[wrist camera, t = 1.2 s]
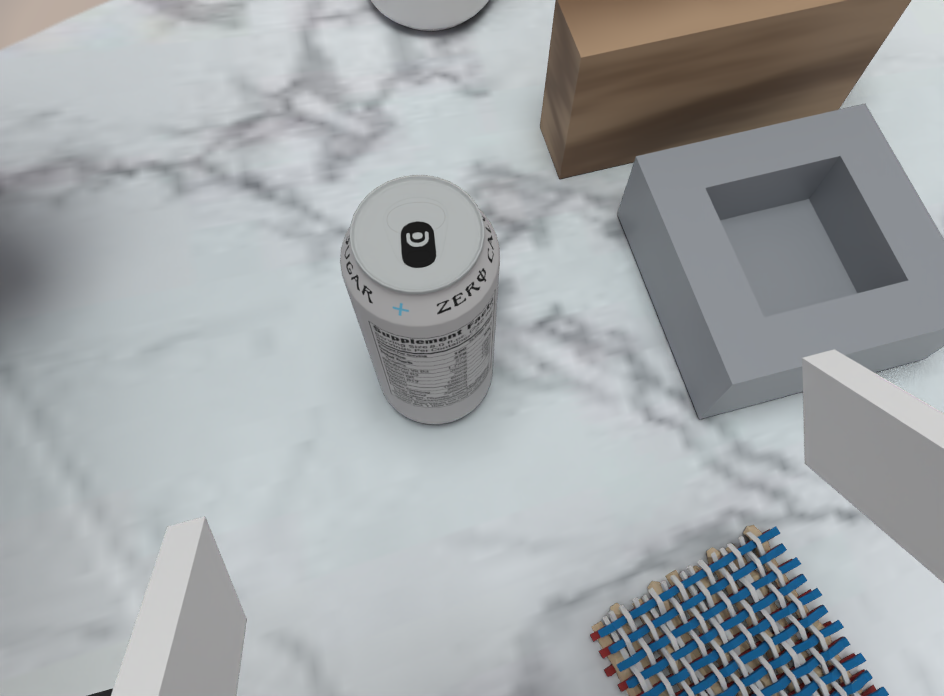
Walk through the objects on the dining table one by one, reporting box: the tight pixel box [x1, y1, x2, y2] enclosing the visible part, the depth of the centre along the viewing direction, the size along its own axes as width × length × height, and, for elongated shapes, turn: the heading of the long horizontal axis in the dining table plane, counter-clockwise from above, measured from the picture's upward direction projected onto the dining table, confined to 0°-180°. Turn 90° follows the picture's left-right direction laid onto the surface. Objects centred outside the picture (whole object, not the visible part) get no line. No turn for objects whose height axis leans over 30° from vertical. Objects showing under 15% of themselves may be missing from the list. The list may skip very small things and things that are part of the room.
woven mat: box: [590, 525, 889, 696], centre depth 35 cm, size 10×11×2 cm
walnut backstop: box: [540, 0, 911, 179], centre depth 42 cm, size 4×18×10 cm, turn 105°
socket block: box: [617, 104, 944, 419], centre depth 40 cm, size 13×13×6 cm
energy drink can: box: [340, 175, 500, 424], centre depth 34 cm, size 6×6×15 cm
